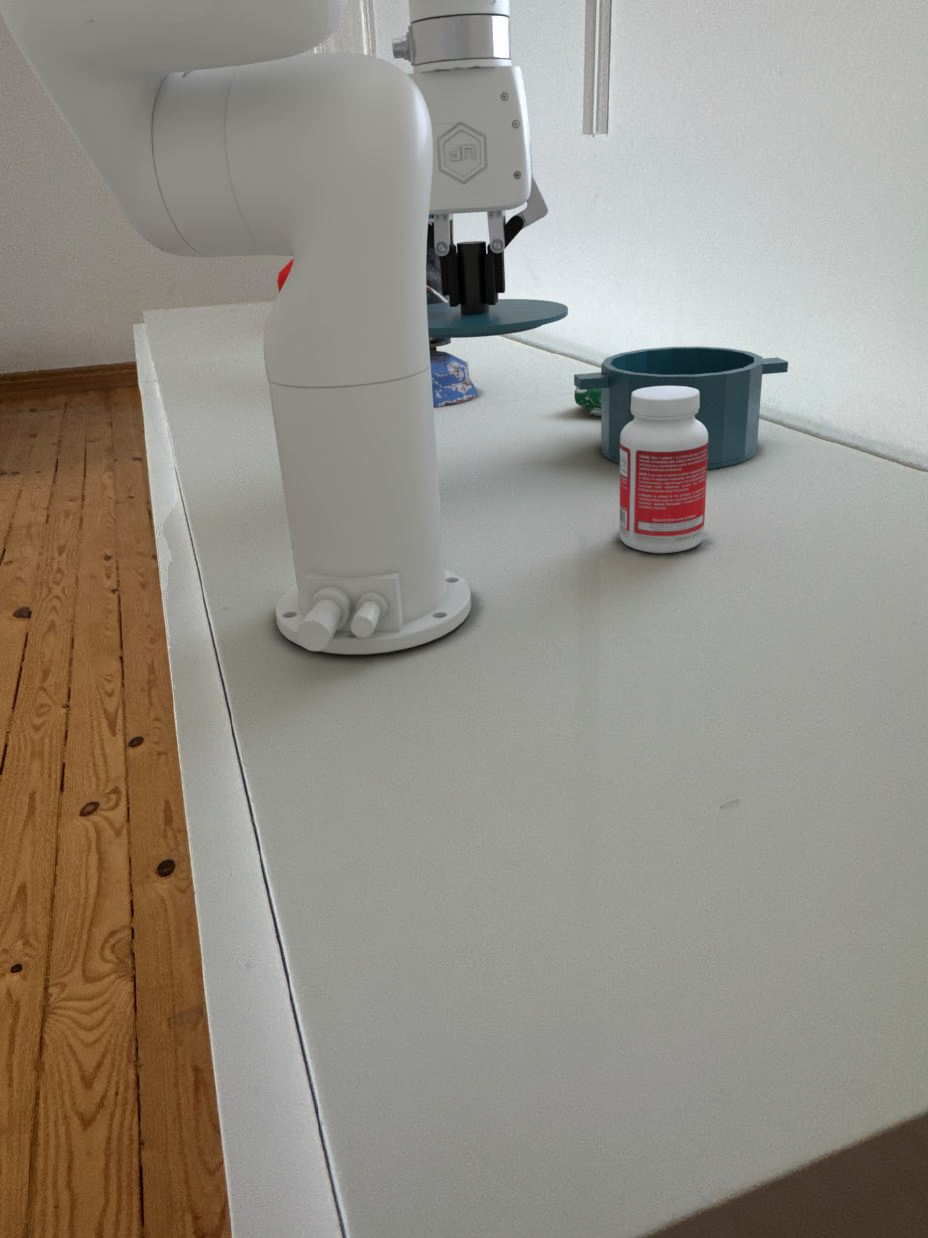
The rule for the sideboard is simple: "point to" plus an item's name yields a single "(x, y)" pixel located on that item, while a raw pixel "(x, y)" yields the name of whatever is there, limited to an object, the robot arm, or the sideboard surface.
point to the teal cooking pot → (713, 371)
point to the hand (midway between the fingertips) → (474, 301)
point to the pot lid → (476, 313)
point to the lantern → (445, 368)
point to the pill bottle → (663, 471)
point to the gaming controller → (589, 399)
